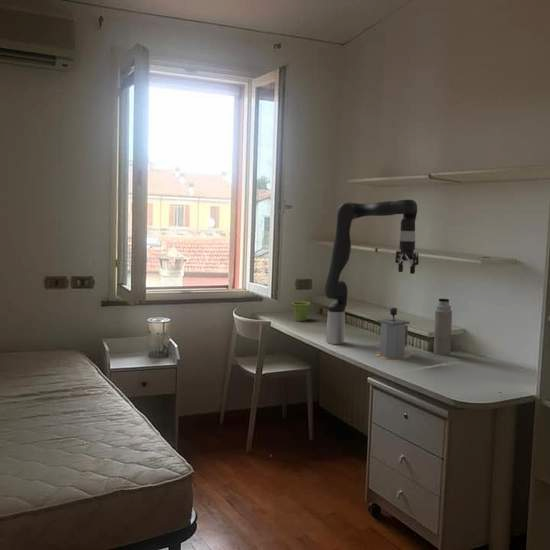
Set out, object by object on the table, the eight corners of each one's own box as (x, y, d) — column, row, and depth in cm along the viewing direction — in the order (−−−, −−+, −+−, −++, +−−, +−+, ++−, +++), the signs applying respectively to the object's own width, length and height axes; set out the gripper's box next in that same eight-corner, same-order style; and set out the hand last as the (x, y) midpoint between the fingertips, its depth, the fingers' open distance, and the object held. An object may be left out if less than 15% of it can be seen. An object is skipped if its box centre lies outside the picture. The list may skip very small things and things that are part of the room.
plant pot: (292, 318, 404) (292, 301, 403) (310, 319, 402) (310, 301, 401) (290, 321, 392) (290, 304, 391) (309, 322, 391) (309, 304, 389)
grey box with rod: (375, 354, 302) (376, 319, 300) (398, 351, 309) (399, 317, 307) (390, 359, 292) (392, 323, 290) (413, 355, 299) (415, 321, 297)
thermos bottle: (449, 353, 309) (451, 298, 306) (450, 357, 301) (453, 300, 298) (433, 352, 310) (435, 297, 307) (434, 356, 302) (436, 299, 299)
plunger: (380, 346, 301) (381, 307, 299) (393, 345, 305) (394, 306, 303) (391, 350, 294) (392, 310, 292) (404, 348, 298) (406, 308, 296)
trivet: (365, 355, 303) (365, 353, 303) (394, 351, 312) (394, 349, 312) (390, 363, 288) (390, 361, 288) (419, 359, 297) (419, 357, 296)
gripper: (392, 239, 310) (391, 271, 311) (411, 241, 297) (410, 274, 299) (403, 239, 313) (402, 271, 315) (423, 240, 301) (422, 273, 303)
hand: (406, 272), depth 307 cm, fingers open, 8 cm apart
